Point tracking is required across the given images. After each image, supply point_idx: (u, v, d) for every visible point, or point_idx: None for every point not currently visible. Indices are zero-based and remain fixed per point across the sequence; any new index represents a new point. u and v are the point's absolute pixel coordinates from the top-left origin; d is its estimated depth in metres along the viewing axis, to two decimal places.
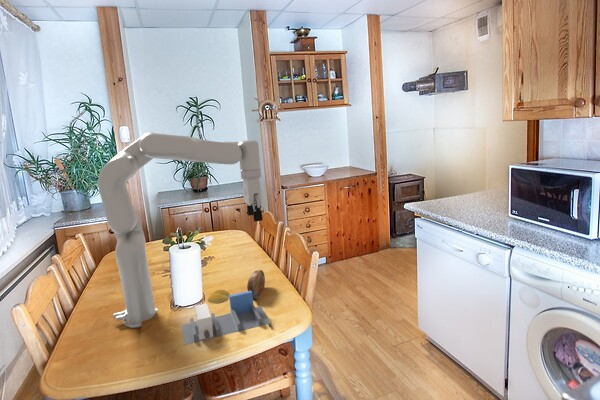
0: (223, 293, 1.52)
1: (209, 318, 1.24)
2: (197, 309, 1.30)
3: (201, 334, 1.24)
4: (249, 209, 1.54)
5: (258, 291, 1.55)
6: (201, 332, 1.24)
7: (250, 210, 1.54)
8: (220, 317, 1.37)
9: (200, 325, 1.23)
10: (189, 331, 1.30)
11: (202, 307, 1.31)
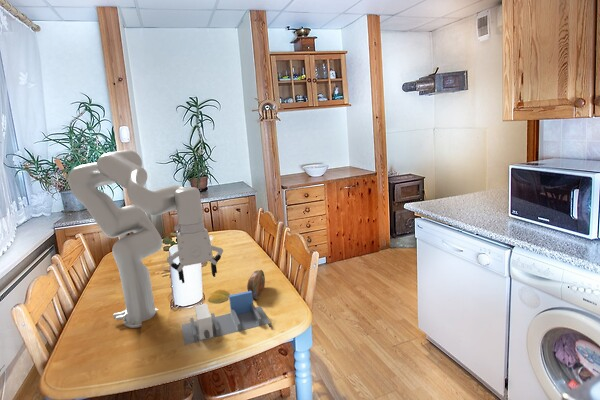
0: (223, 293, 1.52)
1: (209, 318, 1.24)
2: (197, 309, 1.30)
3: (201, 334, 1.24)
4: (183, 275, 1.23)
5: (258, 291, 1.55)
6: (201, 332, 1.24)
7: (183, 275, 1.23)
8: (220, 317, 1.37)
9: (200, 325, 1.23)
10: (189, 331, 1.30)
11: (202, 307, 1.31)
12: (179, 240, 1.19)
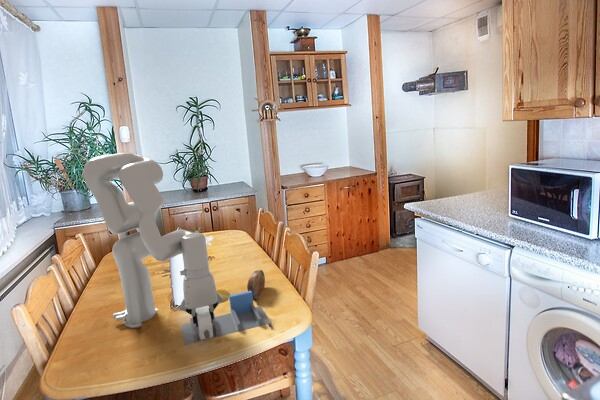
0: (223, 293, 1.52)
1: (209, 318, 1.24)
2: (197, 309, 1.30)
3: (201, 334, 1.24)
4: None
5: (258, 291, 1.55)
6: (201, 332, 1.24)
7: None
8: (220, 317, 1.37)
9: (200, 325, 1.23)
10: (189, 331, 1.30)
11: (202, 307, 1.30)
12: (185, 285, 1.22)
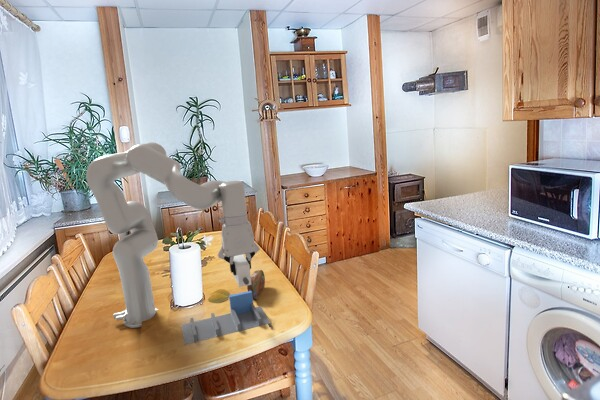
0: (223, 293, 1.53)
1: (248, 265, 1.25)
2: (234, 258, 1.31)
3: (240, 281, 1.25)
4: None
5: (258, 291, 1.55)
6: (240, 279, 1.25)
7: None
8: (220, 317, 1.37)
9: (239, 272, 1.25)
10: (189, 331, 1.30)
11: (239, 257, 1.32)
12: (224, 232, 1.23)
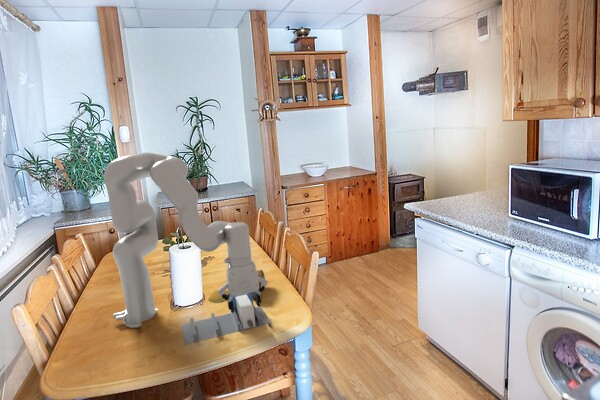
0: (224, 292, 1.53)
1: (252, 308, 1.29)
2: (239, 299, 1.34)
3: (244, 323, 1.29)
4: None
5: None
6: (244, 321, 1.29)
7: (232, 305, 1.31)
8: (220, 317, 1.37)
9: (243, 315, 1.28)
10: (189, 331, 1.30)
11: (243, 298, 1.35)
12: (229, 272, 1.26)
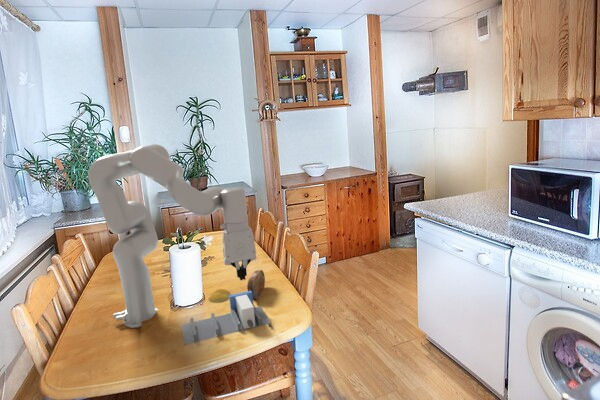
0: (224, 292, 1.53)
1: (252, 308, 1.29)
2: (239, 299, 1.34)
3: (244, 323, 1.29)
4: None
5: (258, 291, 1.55)
6: (244, 321, 1.29)
7: None
8: (220, 317, 1.37)
9: (243, 315, 1.28)
10: (189, 331, 1.30)
11: (243, 298, 1.35)
12: (225, 238, 1.24)
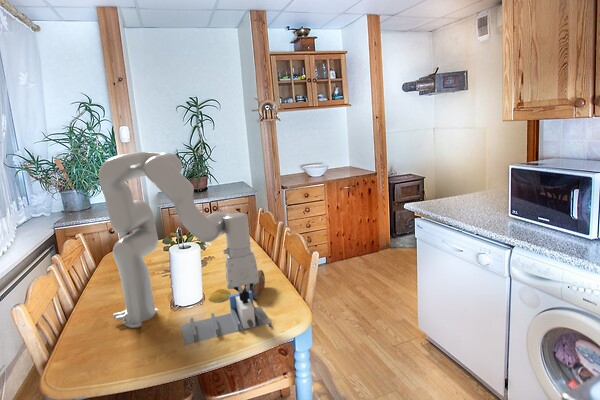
0: (224, 292, 1.53)
1: (252, 308, 1.29)
2: (239, 299, 1.34)
3: (244, 323, 1.29)
4: None
5: (258, 291, 1.55)
6: (244, 321, 1.29)
7: None
8: (220, 317, 1.37)
9: (243, 315, 1.28)
10: (189, 331, 1.30)
11: None
12: (228, 263, 1.26)
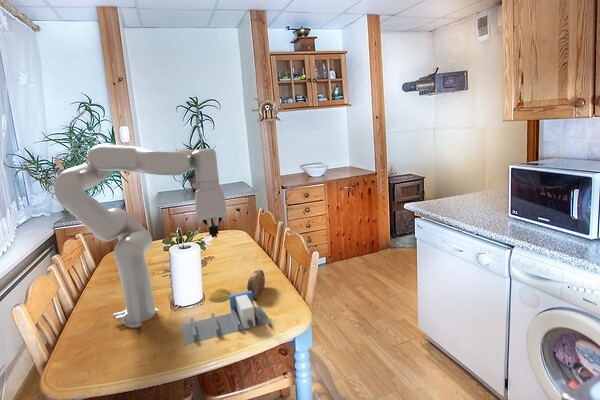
0: (224, 292, 1.53)
1: (252, 308, 1.29)
2: (239, 299, 1.34)
3: (244, 323, 1.29)
4: None
5: (258, 291, 1.55)
6: (244, 321, 1.29)
7: None
8: (220, 317, 1.37)
9: (243, 315, 1.28)
10: (189, 331, 1.30)
11: (243, 298, 1.35)
12: (197, 196, 1.31)
